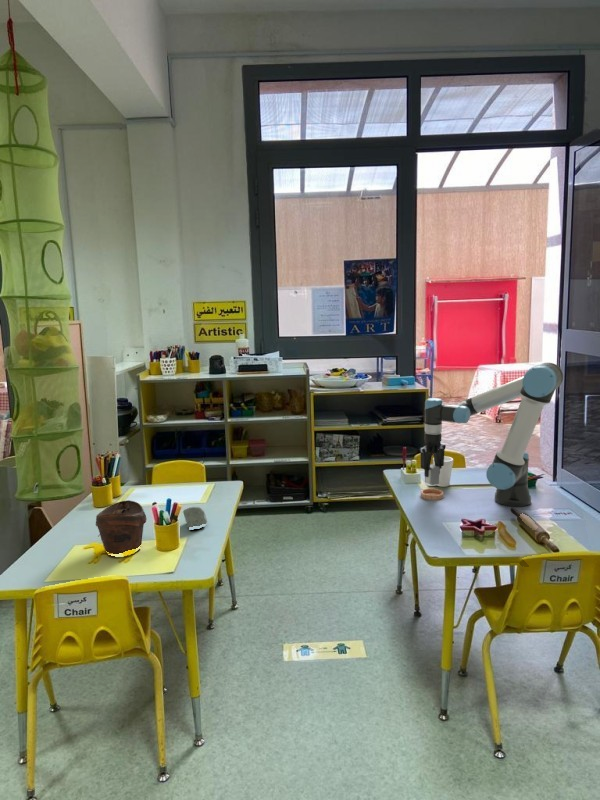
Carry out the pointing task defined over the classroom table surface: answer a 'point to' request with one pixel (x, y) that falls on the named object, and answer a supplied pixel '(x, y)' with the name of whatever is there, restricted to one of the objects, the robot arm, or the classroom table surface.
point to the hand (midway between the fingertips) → (431, 482)
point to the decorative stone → (195, 516)
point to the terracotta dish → (432, 494)
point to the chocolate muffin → (121, 526)
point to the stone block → (434, 474)
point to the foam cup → (445, 472)
